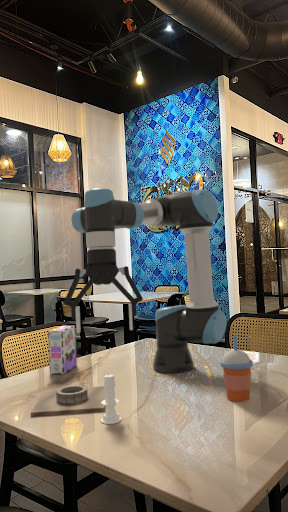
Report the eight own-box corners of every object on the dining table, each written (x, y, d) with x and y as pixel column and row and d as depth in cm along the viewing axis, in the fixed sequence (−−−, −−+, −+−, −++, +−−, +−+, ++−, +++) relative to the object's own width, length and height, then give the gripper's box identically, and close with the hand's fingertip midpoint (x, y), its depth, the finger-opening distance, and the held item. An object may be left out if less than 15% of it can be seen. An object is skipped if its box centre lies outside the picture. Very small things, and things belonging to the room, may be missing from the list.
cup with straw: (236, 406, 112) (232, 339, 113) (215, 397, 120) (212, 335, 121) (261, 399, 116) (258, 335, 117) (240, 391, 125) (236, 331, 125)
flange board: (107, 389, 133) (106, 378, 133) (104, 411, 113) (104, 398, 113) (44, 393, 132) (44, 382, 132) (30, 416, 112) (30, 403, 112)
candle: (97, 423, 105) (94, 375, 105) (106, 415, 110) (104, 370, 110) (116, 425, 103) (114, 377, 103) (124, 417, 108) (122, 371, 108)
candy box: (64, 374, 154) (61, 330, 154) (49, 374, 155) (47, 330, 155) (77, 365, 168) (75, 324, 168) (63, 365, 169) (61, 325, 169)
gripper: (148, 247, 112) (152, 325, 112) (55, 251, 111) (58, 331, 110) (149, 246, 105) (153, 330, 104) (50, 250, 103) (53, 335, 103)
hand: (105, 330), depth 107 cm, fingers open, 13 cm apart
